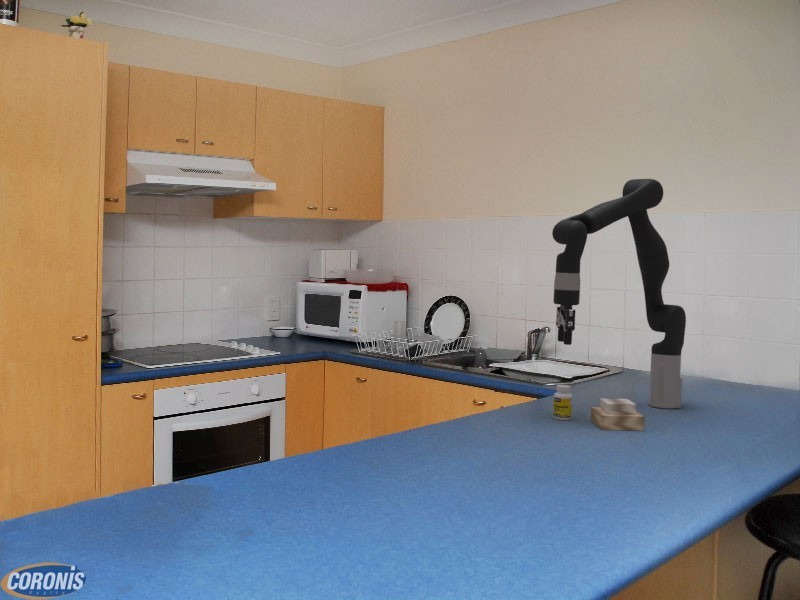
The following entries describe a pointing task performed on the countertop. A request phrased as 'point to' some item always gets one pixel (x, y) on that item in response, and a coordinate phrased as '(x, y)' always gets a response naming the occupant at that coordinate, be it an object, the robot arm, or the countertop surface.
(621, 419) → the tower base
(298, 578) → the countertop surface
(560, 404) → the supplement bottle
